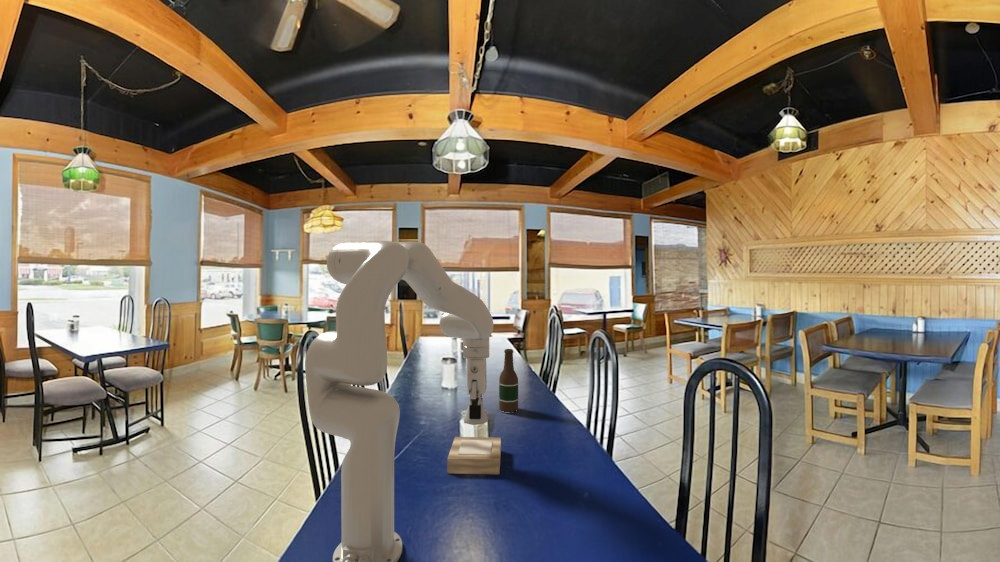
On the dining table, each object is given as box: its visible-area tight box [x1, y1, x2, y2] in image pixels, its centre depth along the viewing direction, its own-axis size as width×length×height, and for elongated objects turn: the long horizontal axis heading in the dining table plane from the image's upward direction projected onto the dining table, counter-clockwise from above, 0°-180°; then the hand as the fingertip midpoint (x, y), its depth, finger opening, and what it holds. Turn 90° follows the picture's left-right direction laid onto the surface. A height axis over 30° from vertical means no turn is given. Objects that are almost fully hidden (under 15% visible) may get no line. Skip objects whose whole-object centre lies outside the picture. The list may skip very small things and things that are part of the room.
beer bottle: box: [498, 348, 519, 412], centre depth 154 cm, size 8×8×24 cm
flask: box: [463, 391, 489, 426], centre depth 112 cm, size 7×7×10 cm
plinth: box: [446, 436, 502, 475], centre depth 112 cm, size 14×14×4 cm
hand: (476, 414), depth 112 cm, fingers closed on flask, 4 cm apart
